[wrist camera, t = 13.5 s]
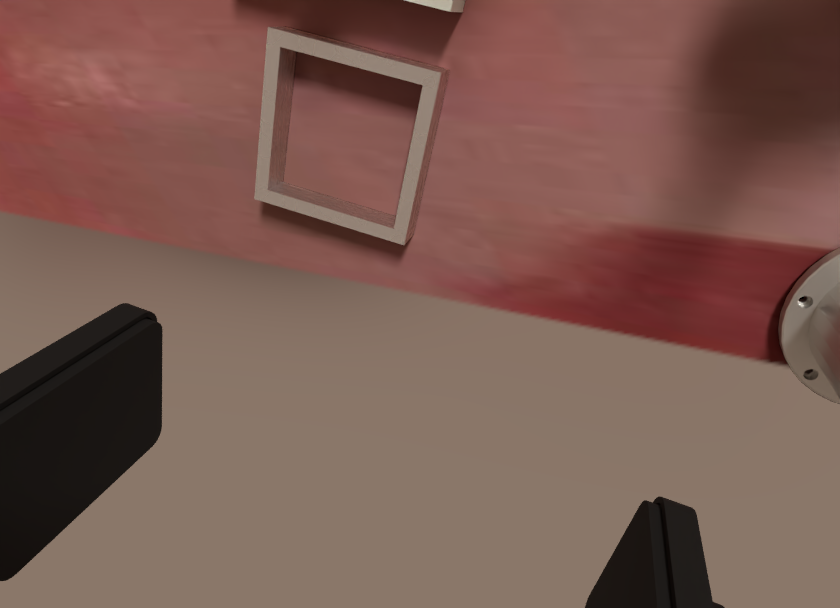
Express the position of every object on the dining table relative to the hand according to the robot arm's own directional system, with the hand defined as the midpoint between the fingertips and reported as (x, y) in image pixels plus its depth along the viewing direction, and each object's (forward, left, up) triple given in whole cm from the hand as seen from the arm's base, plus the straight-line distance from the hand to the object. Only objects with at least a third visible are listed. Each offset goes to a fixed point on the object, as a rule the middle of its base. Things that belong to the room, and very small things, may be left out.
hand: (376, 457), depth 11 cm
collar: (+13, +3, -33) cm, 36 cm away
